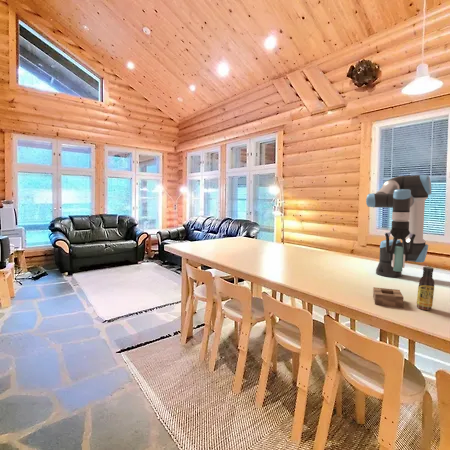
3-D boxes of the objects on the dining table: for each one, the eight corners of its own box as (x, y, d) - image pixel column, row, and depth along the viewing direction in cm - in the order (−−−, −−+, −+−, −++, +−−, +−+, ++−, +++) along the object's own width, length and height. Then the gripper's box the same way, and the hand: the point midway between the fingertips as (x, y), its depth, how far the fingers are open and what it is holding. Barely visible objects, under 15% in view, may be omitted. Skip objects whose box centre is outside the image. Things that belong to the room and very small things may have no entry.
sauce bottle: (418, 309, 142) (420, 268, 140) (415, 305, 148) (417, 265, 146) (434, 311, 140) (437, 269, 138) (430, 307, 146) (433, 266, 144)
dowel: (392, 269, 156) (393, 246, 155) (401, 270, 155) (402, 246, 154) (393, 271, 152) (395, 247, 151) (403, 272, 151) (404, 248, 150)
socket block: (373, 296, 161) (373, 287, 160) (398, 299, 157) (399, 289, 156) (375, 304, 150) (375, 294, 149) (402, 307, 145) (403, 297, 145)
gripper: (382, 220, 151) (380, 267, 153) (422, 221, 145) (419, 270, 147) (380, 219, 158) (378, 264, 160) (418, 220, 152) (415, 266, 154)
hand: (397, 266), depth 153 cm, fingers closed on dowel, 4 cm apart
